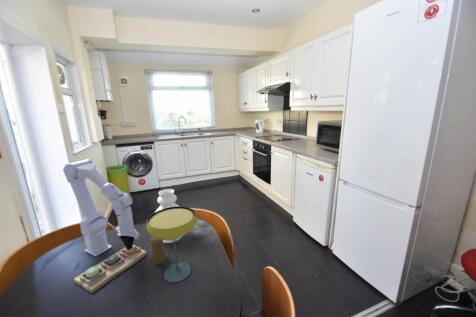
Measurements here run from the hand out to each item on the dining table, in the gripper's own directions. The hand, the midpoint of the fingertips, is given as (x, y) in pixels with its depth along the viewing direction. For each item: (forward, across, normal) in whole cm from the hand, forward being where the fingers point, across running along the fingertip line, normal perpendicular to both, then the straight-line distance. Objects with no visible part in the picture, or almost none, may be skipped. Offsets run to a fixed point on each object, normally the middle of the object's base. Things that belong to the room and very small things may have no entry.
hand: (129, 248), depth 96 cm
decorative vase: (+4, +5, +20) cm, 21 cm away
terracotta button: (+2, 0, 0) cm, 2 cm away
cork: (+4, +14, +4) cm, 15 cm away
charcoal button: (+1, 0, -8) cm, 8 cm away
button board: (+4, 0, -8) cm, 9 cm away
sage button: (+1, 0, -16) cm, 16 cm away
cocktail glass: (+4, +27, +2) cm, 27 cm away
